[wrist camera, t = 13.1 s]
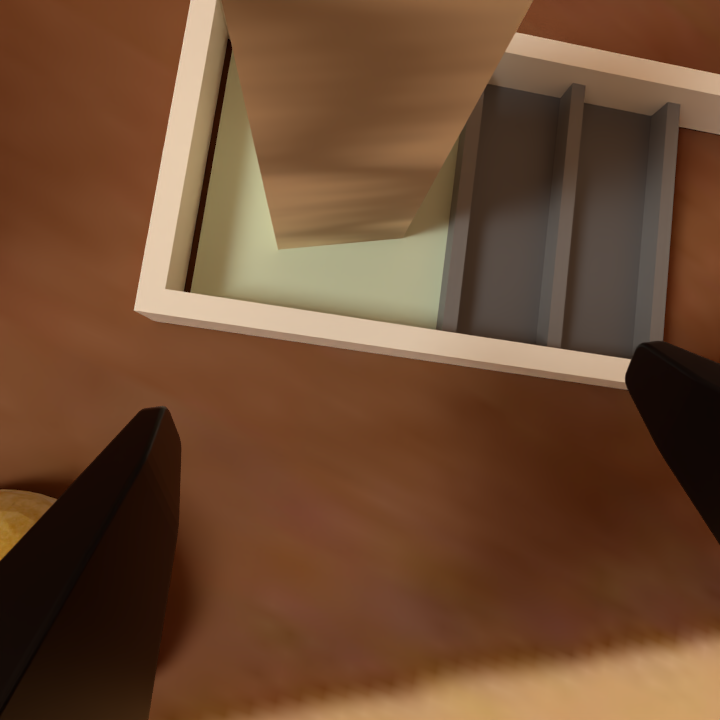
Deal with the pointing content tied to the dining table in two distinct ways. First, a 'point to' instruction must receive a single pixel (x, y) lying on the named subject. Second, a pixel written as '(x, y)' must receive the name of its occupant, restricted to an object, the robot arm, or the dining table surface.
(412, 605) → the dining table surface
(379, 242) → the box
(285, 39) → the maple block
